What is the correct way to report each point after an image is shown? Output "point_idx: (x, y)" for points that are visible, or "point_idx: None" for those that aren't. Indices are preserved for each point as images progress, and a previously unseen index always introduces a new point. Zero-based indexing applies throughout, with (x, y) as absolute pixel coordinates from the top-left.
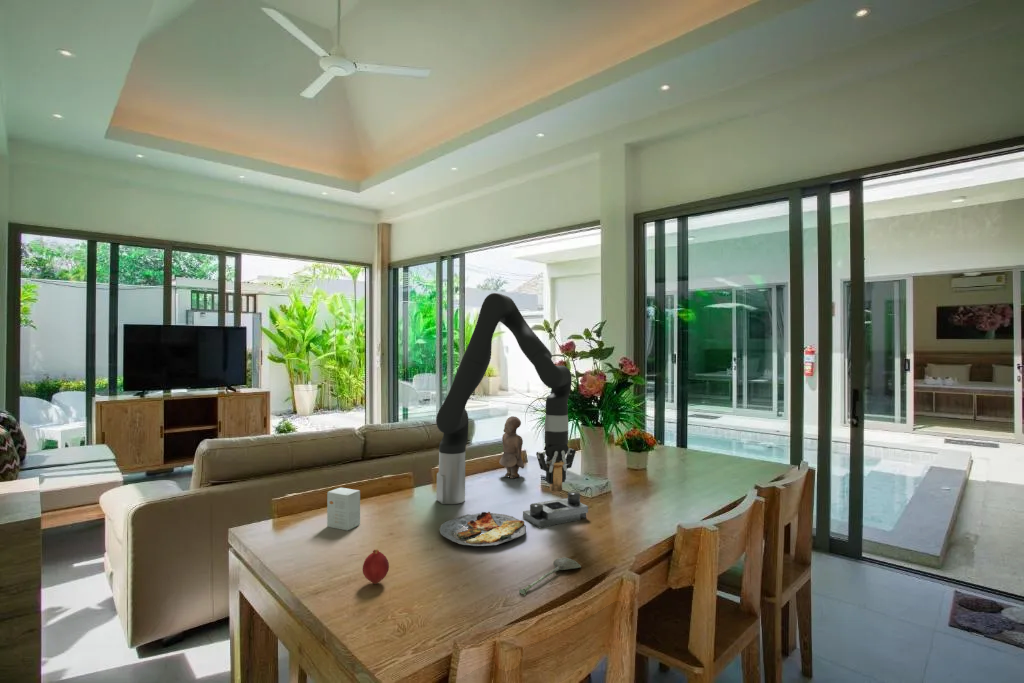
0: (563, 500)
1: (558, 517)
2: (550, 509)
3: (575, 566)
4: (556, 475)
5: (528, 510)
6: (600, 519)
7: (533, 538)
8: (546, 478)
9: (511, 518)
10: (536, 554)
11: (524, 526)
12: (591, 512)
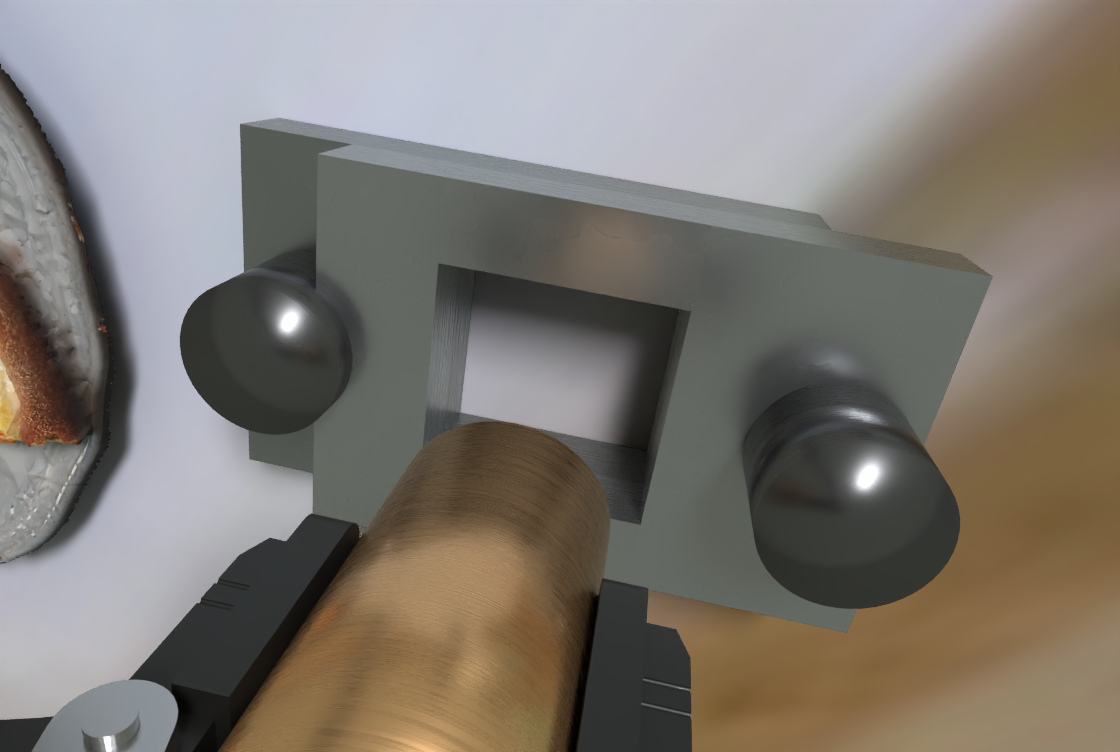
0: (794, 315)
1: None
2: (404, 459)
3: None
4: None
5: (313, 141)
6: (904, 617)
7: (138, 546)
8: (218, 597)
9: (36, 235)
10: (53, 704)
11: (83, 456)
12: (1036, 450)
